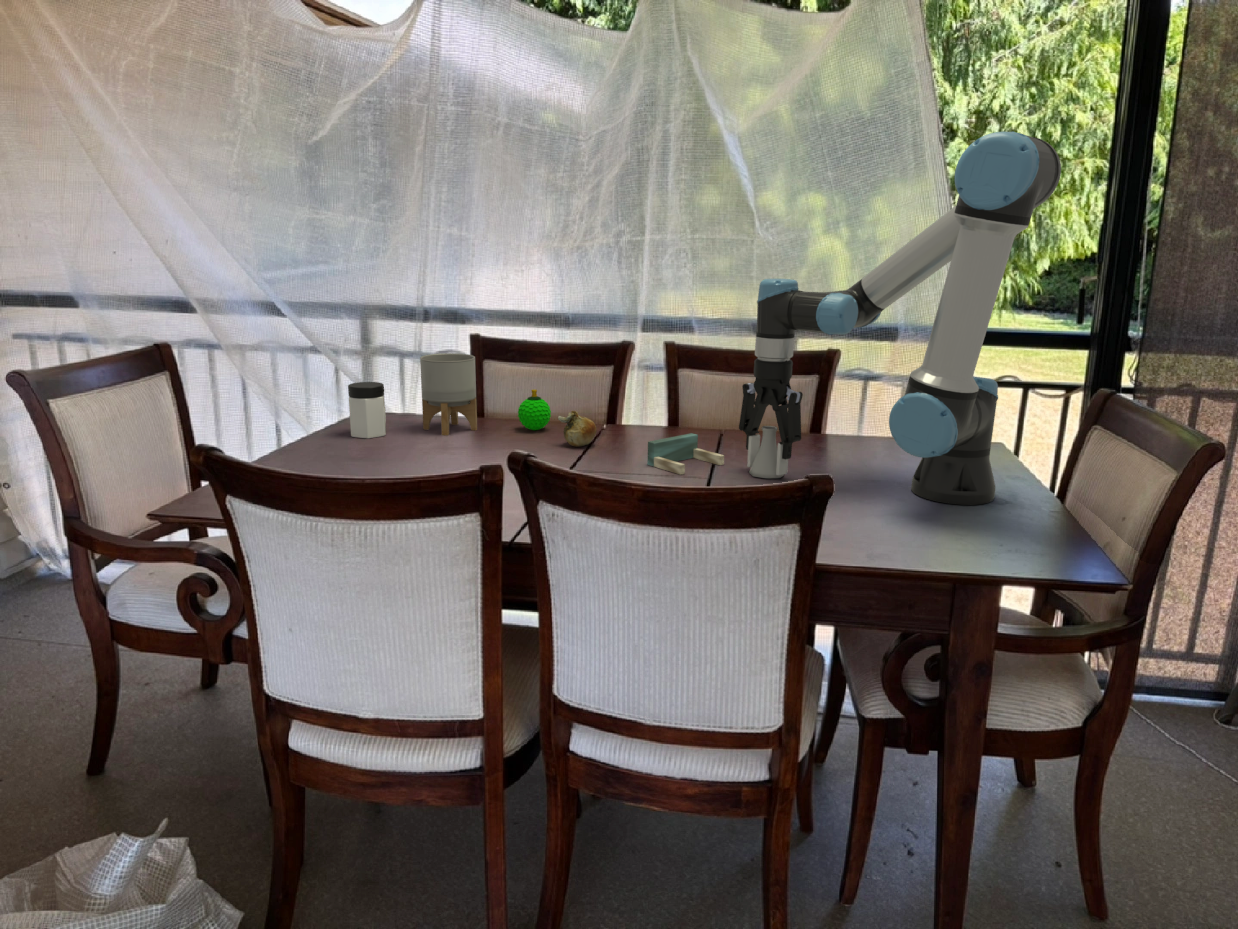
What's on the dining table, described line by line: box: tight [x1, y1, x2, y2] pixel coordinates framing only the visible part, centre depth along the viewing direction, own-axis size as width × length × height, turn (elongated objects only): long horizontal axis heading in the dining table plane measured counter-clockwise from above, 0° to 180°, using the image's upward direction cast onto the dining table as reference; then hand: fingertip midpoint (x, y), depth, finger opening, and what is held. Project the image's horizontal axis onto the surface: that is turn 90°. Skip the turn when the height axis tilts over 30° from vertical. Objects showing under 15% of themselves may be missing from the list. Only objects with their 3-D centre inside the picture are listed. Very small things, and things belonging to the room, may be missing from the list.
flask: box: [748, 425, 786, 479], centre depth 183 cm, size 7×7×10 cm
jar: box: [347, 381, 387, 440], centre depth 212 cm, size 9×8×12 cm
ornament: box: [517, 389, 552, 431], centre depth 219 cm, size 8×8×10 cm
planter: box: [419, 352, 478, 437], centre depth 217 cm, size 13×13×18 cm
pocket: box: [647, 432, 725, 475], centre depth 190 cm, size 10×13×5 cm
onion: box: [557, 410, 597, 448], centre depth 205 cm, size 8×8×8 cm
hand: (767, 469), depth 184 cm, fingers closed on flask, 7 cm apart
